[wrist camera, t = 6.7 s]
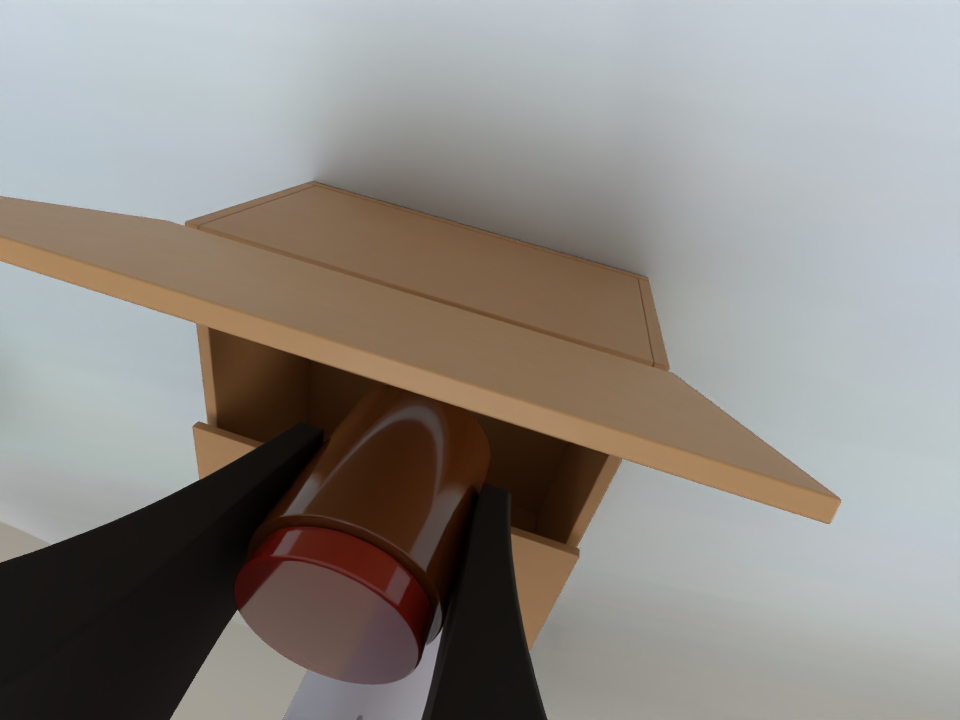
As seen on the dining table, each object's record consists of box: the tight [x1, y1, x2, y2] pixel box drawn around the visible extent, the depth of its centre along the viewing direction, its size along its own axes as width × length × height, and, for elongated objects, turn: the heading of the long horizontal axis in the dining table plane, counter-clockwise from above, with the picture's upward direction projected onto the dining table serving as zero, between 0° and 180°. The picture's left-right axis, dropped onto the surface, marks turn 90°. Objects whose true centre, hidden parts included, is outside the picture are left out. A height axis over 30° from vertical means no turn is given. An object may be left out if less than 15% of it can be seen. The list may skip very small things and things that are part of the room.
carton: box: [185, 181, 669, 651], centre depth 18 cm, size 13×13×7 cm
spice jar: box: [233, 385, 491, 685], centre depth 11 cm, size 4×4×5 cm
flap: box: [0, 196, 841, 524], centre depth 8 cm, size 6×13×1 cm
